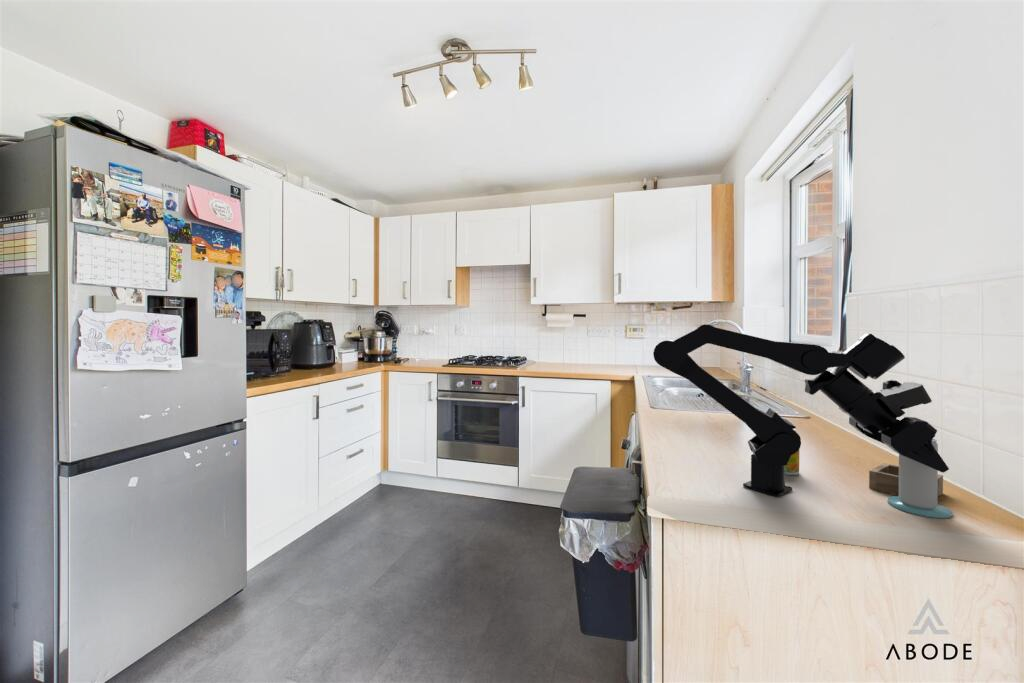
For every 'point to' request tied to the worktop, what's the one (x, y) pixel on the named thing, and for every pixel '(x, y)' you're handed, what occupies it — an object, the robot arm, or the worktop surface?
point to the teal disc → (934, 513)
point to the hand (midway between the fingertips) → (929, 462)
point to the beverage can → (918, 483)
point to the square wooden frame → (891, 479)
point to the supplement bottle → (793, 464)
